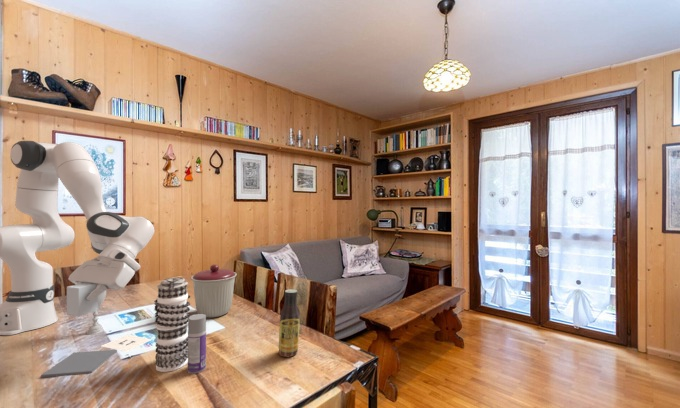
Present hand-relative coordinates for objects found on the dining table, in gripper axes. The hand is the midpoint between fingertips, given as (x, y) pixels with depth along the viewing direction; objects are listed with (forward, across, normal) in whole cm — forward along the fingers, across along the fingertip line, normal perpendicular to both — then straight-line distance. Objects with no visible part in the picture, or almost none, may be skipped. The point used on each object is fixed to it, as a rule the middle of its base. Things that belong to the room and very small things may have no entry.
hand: (80, 299), depth 85 cm
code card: (+4, 0, +24) cm, 24 cm away
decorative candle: (+8, +25, +20) cm, 33 cm away
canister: (-18, +9, +46) cm, 50 cm away
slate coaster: (+13, 0, +14) cm, 19 cm away
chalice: (+2, -19, +26) cm, 32 cm away
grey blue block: (+2, 0, +3) cm, 4 cm away
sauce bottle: (-4, +55, +32) cm, 63 cm away
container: (+8, +34, +20) cm, 40 cm away
